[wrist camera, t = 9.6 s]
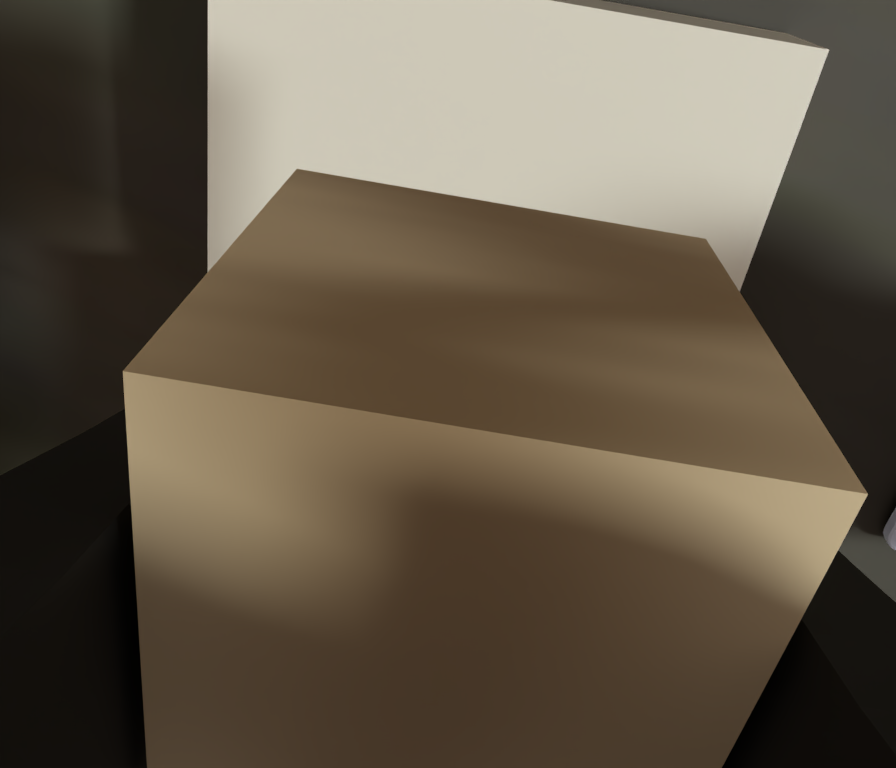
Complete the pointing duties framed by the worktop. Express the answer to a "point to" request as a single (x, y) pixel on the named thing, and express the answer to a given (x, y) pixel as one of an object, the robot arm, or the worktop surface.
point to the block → (467, 493)
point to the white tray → (509, 109)
